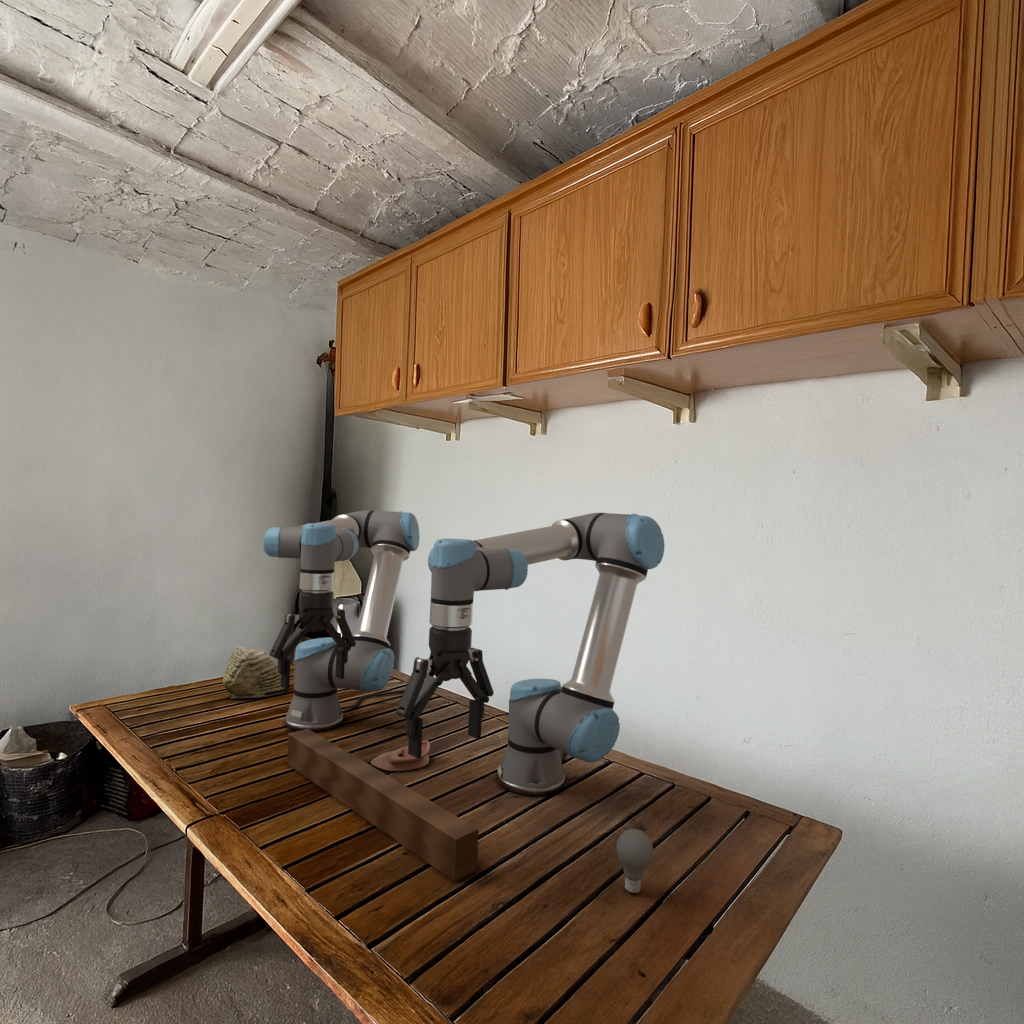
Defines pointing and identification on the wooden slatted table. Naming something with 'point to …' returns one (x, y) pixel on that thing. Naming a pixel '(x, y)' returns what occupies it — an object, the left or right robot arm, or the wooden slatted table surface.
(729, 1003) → the wooden slatted table surface
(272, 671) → the fossil
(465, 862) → the bar
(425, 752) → the anatomical model
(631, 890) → the light bulb
